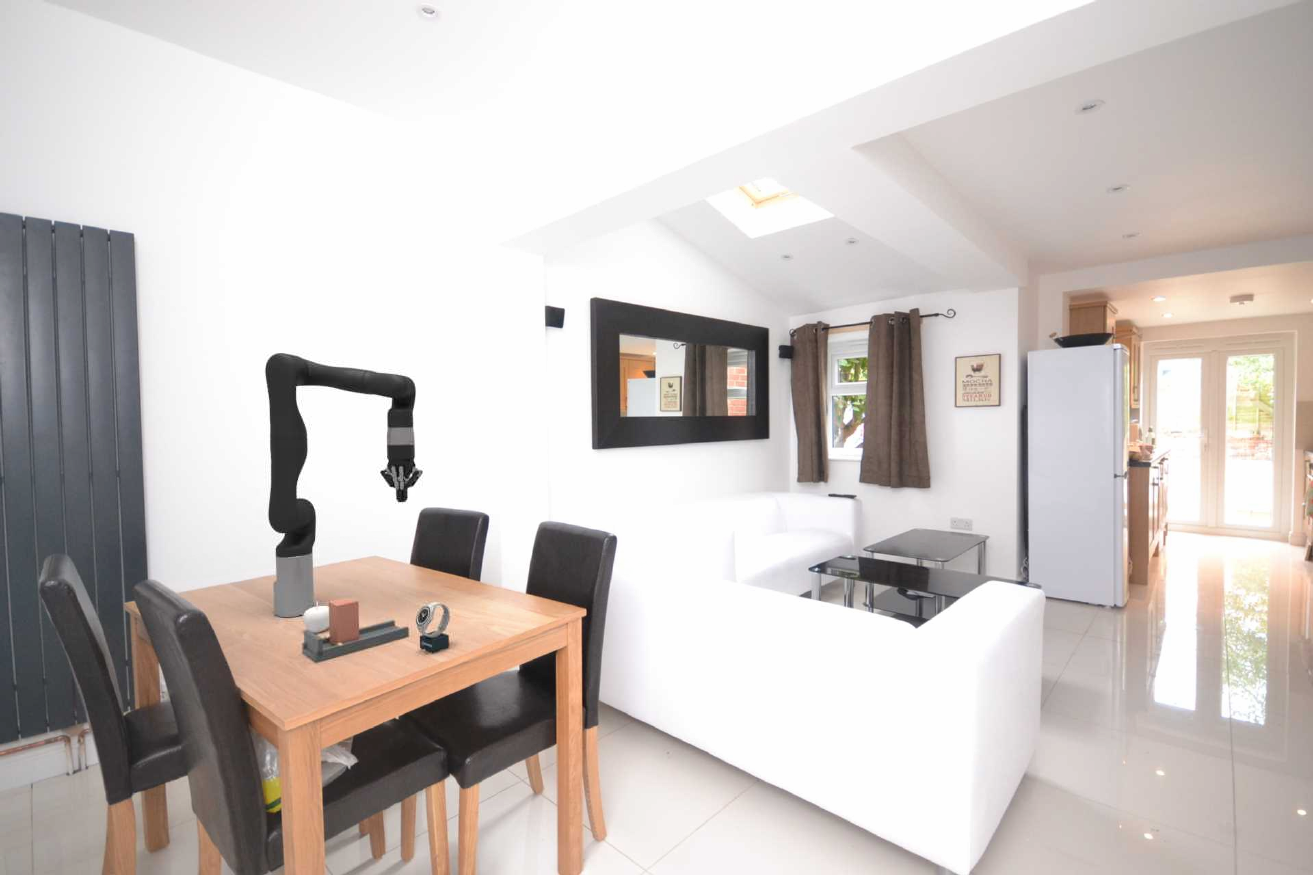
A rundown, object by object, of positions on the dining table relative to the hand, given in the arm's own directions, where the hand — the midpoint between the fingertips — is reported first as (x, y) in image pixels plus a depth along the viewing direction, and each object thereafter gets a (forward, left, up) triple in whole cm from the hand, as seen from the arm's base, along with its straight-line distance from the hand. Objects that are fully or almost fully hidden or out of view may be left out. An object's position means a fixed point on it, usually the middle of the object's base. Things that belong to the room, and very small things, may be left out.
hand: (402, 501), depth 176 cm
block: (+4, -30, -30) cm, 43 cm away
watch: (+26, -26, -32) cm, 49 cm away
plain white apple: (-12, -20, -32) cm, 40 cm away
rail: (+5, -28, -32) cm, 43 cm away
